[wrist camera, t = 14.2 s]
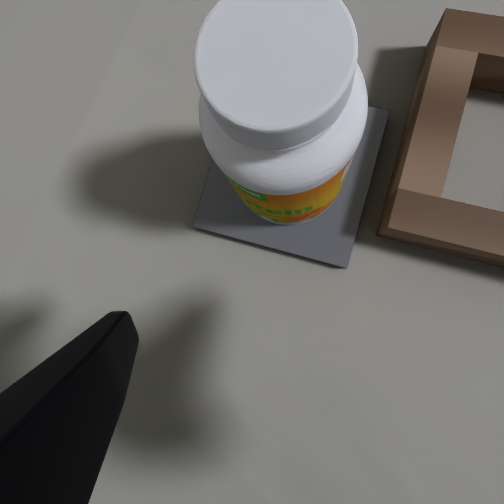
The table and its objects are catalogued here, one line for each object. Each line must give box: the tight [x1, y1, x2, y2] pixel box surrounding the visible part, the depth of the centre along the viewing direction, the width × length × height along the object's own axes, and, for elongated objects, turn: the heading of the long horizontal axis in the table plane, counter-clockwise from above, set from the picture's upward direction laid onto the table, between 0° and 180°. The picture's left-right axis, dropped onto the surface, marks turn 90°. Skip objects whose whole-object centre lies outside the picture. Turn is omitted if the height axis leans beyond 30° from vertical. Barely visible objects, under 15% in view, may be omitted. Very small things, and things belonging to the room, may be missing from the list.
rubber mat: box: [193, 106, 390, 269], centre depth 18 cm, size 8×8×1 cm
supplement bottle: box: [194, 0, 368, 225], centre depth 13 cm, size 5×5×10 cm
